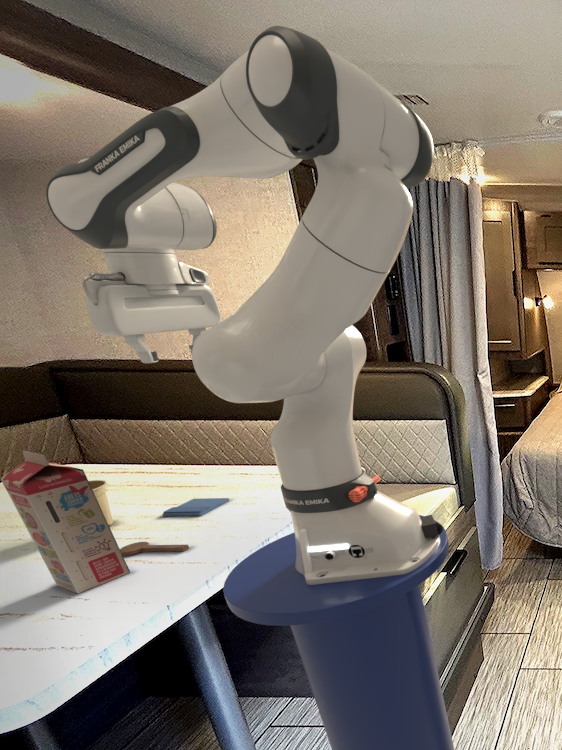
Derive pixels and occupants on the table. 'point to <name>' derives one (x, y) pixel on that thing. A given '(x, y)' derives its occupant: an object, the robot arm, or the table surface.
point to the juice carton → (65, 523)
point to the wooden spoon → (150, 548)
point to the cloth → (195, 507)
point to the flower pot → (102, 498)
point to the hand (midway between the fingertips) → (176, 358)
